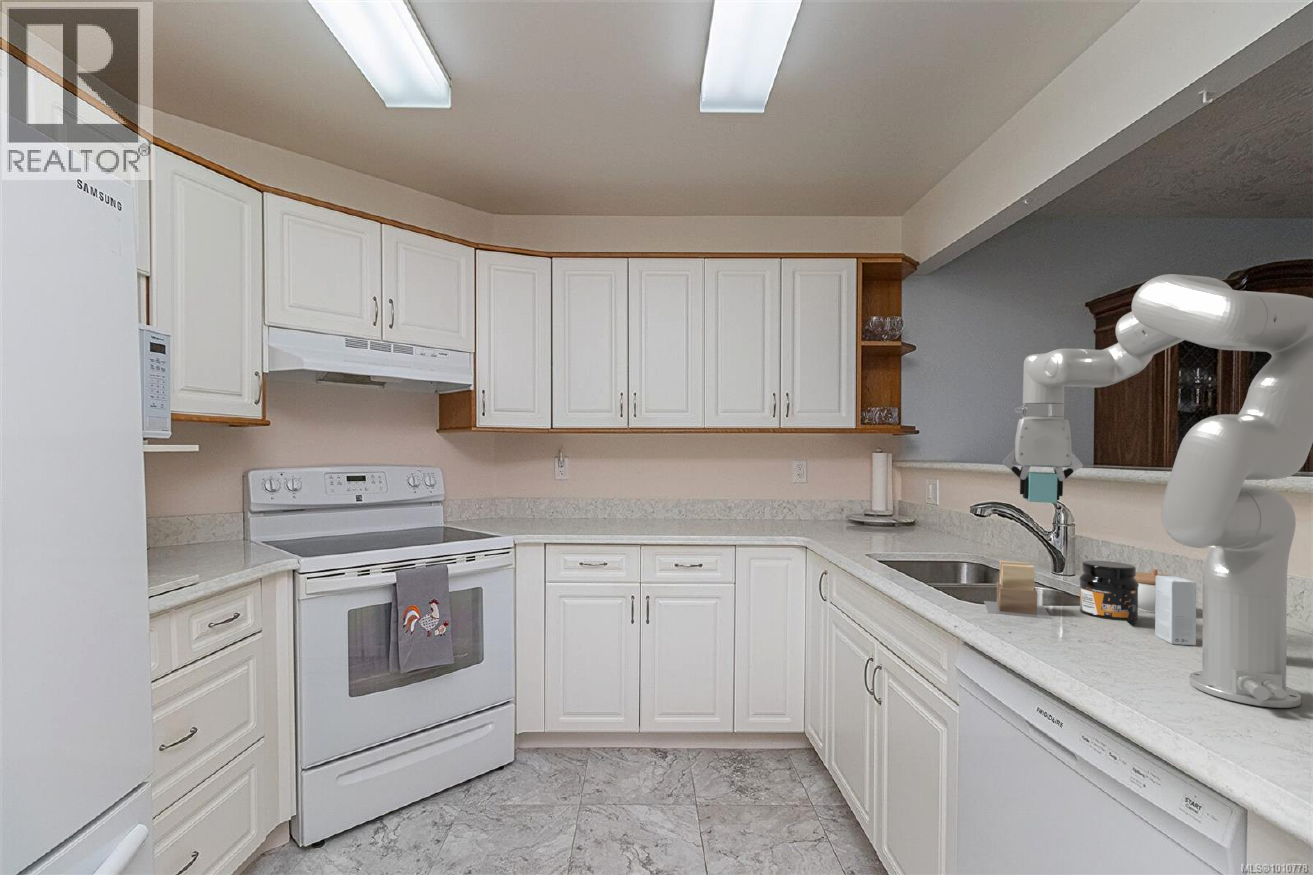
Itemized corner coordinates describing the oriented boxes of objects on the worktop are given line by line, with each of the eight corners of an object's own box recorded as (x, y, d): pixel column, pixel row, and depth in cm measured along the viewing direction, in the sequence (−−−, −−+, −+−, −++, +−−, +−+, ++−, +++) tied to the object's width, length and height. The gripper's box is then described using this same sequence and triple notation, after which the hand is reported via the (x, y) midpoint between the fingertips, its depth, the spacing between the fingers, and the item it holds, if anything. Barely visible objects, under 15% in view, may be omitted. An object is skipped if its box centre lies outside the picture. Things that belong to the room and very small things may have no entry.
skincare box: (1197, 646, 123) (1197, 582, 123) (1171, 644, 124) (1171, 581, 124) (1178, 637, 129) (1178, 576, 129) (1153, 635, 130) (1154, 574, 130)
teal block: (1056, 503, 135) (1057, 474, 135) (1029, 501, 137) (1029, 473, 137) (1052, 500, 140) (1053, 472, 140) (1025, 499, 142) (1026, 471, 142)
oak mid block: (1034, 590, 141) (1034, 567, 141) (1002, 588, 143) (1002, 565, 143) (1029, 585, 146) (1029, 562, 146) (999, 582, 149) (999, 560, 149)
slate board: (1052, 624, 137) (1052, 619, 137) (988, 618, 141) (988, 612, 141) (1042, 611, 148) (1042, 606, 148) (983, 605, 152) (983, 600, 152)
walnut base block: (1036, 614, 140) (1037, 591, 140) (1000, 611, 143) (1000, 588, 143) (1031, 607, 147) (1032, 585, 147) (996, 604, 149) (996, 582, 149)
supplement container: (1077, 620, 140) (1077, 564, 141) (1081, 611, 149) (1081, 558, 149) (1138, 629, 134) (1138, 570, 134) (1138, 618, 143) (1138, 563, 143)
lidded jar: (1128, 602, 158) (1128, 563, 158) (1185, 610, 151) (1185, 569, 151) (1123, 611, 149) (1123, 569, 150) (1183, 619, 142) (1183, 576, 143)
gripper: (999, 412, 138) (997, 498, 138) (1094, 412, 132) (1092, 503, 132) (995, 413, 145) (993, 495, 145) (1086, 413, 139) (1083, 499, 139)
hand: (1040, 497), depth 139 cm, fingers closed on teal block, 5 cm apart
